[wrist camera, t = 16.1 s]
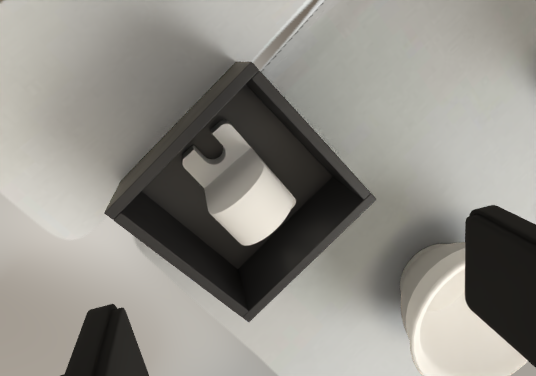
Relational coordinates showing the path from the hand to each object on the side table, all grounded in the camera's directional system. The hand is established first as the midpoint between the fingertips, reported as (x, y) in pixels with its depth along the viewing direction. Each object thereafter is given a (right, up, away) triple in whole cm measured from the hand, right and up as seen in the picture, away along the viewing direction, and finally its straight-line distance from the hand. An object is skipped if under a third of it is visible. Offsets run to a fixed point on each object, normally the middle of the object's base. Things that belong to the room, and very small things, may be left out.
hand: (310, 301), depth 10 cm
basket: (-4, +4, +26) cm, 27 cm away
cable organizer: (-4, +4, +26) cm, 26 cm away
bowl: (+18, -7, +35) cm, 40 cm away
